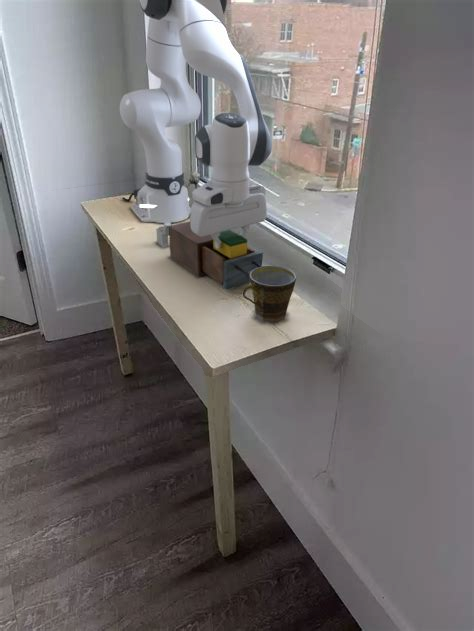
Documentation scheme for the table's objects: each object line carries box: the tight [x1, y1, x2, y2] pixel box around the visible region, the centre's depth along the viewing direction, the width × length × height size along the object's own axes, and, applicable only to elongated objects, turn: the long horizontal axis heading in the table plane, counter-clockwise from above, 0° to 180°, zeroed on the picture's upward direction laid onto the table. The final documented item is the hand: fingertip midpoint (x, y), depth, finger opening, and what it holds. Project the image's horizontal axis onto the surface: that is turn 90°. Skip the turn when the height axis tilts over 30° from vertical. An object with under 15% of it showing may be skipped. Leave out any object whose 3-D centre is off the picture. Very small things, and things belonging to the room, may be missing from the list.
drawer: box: [200, 243, 264, 291], centre depth 126 cm, size 19×11×7 cm, turn 36°
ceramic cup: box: [242, 265, 297, 324], centre depth 111 cm, size 13×10×10 cm
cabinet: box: [168, 220, 238, 277], centre depth 136 cm, size 15×12×9 cm
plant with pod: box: [187, 170, 201, 202], centre depth 150 cm, size 8×11×20 cm
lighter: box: [155, 222, 172, 248], centre depth 145 cm, size 7×2×8 cm, turn 33°
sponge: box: [213, 230, 248, 258], centre depth 125 cm, size 5×7×4 cm
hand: (229, 245), depth 125 cm, fingers closed on sponge, 5 cm apart
